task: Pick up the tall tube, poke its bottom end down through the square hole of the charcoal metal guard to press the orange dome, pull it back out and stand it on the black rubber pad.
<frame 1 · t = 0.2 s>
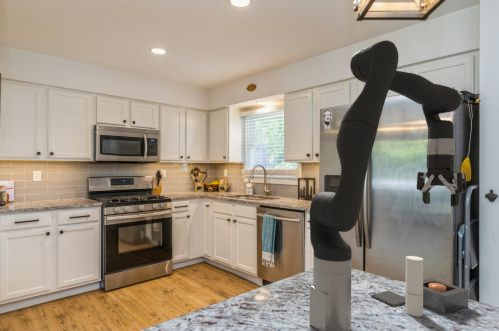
hand: (439, 205, 98), 29 cm above the countertop, fingers open, 8 cm apart
pad: (390, 299, 94), on the countertop
tube: (414, 313, 85), on the countertop
orange dome: (437, 288, 92), point 4 cm above the countertop, slide at 0.0 cm
guard: (437, 303, 92), on the countertop
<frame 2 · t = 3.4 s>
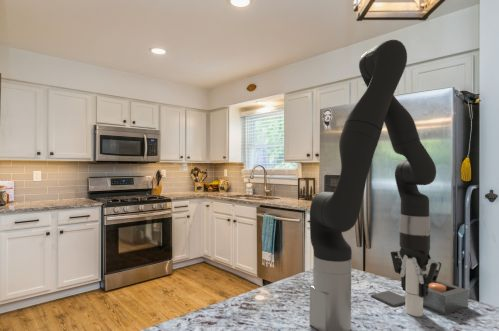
hand: (414, 293, 86), 5 cm above the countertop, fingers closed on tube, 4 cm apart
tube: (414, 313, 85), on the countertop, touching gripper
everything else where it was.
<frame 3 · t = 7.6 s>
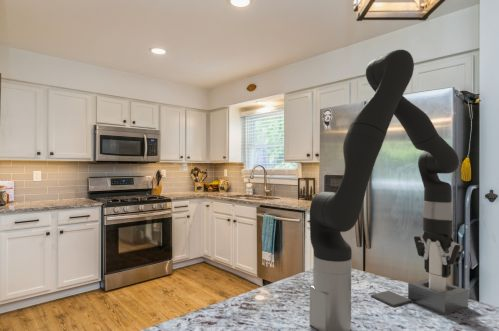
hand: (437, 274, 92), 9 cm above the countertop, fingers closed on tube, 4 cm apart
tube: (437, 293, 92), point 3 cm above the countertop, touching gripper, orange dome
orange dome: (437, 295, 92), point 2 cm above the countertop, slide at 2.0 cm, touching tube
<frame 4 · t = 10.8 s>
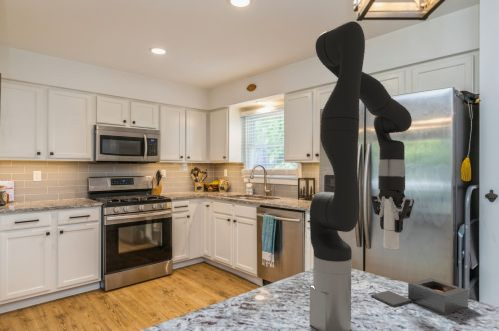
hand: (391, 230, 95), 21 cm above the countertop, fingers closed on tube, 4 cm apart
tube: (391, 248, 95), point 15 cm above the countertop, touching gripper
orange dome: (437, 295, 92), point 2 cm above the countertop, slide at 2.0 cm
when the fingers open (7 cm above the countertop, at t = 13.5 s): tube drops 1 cm, resting on pad.
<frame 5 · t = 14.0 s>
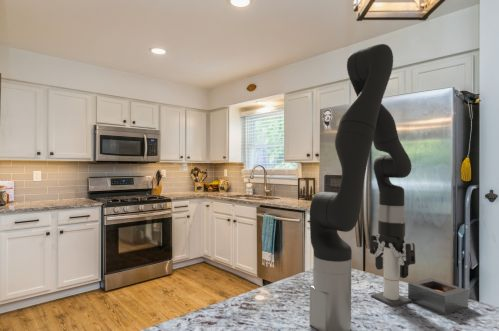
hand: (391, 273, 95), 8 cm above the countertop, fingers open, 8 cm apart
tube: (391, 297, 94), resting on pad
everything else where it was.
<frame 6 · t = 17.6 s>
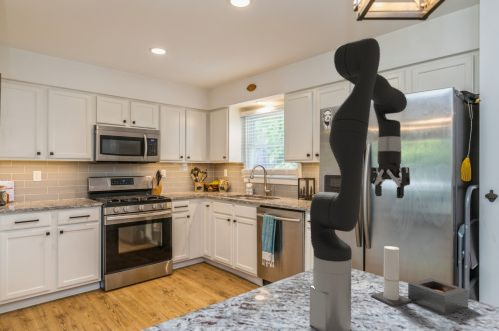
hand: (388, 197, 108), 30 cm above the countertop, fingers open, 8 cm apart
nothing on the countertop moved.
at the end: orange dome slide at 2.0 cm; tube inside the target area on the pad (0.1 cm from its centre), point 0.4 cm above the pad's base; tube tilted 0° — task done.
